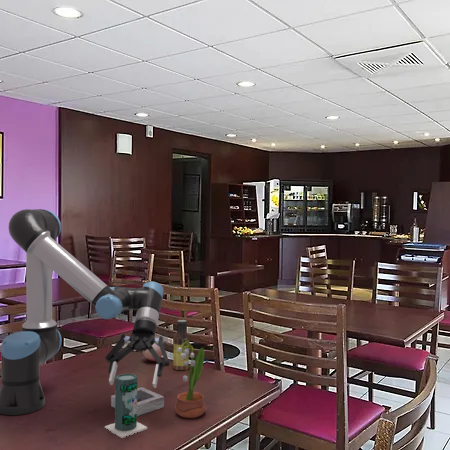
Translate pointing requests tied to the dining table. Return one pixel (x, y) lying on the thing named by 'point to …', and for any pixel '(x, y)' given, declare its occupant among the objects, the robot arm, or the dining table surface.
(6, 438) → the dining table surface
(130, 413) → the can
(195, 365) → the potted flower
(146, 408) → the collar
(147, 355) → the decorative fruit
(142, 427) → the tile
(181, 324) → the sauce bottle
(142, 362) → the dining table surface
